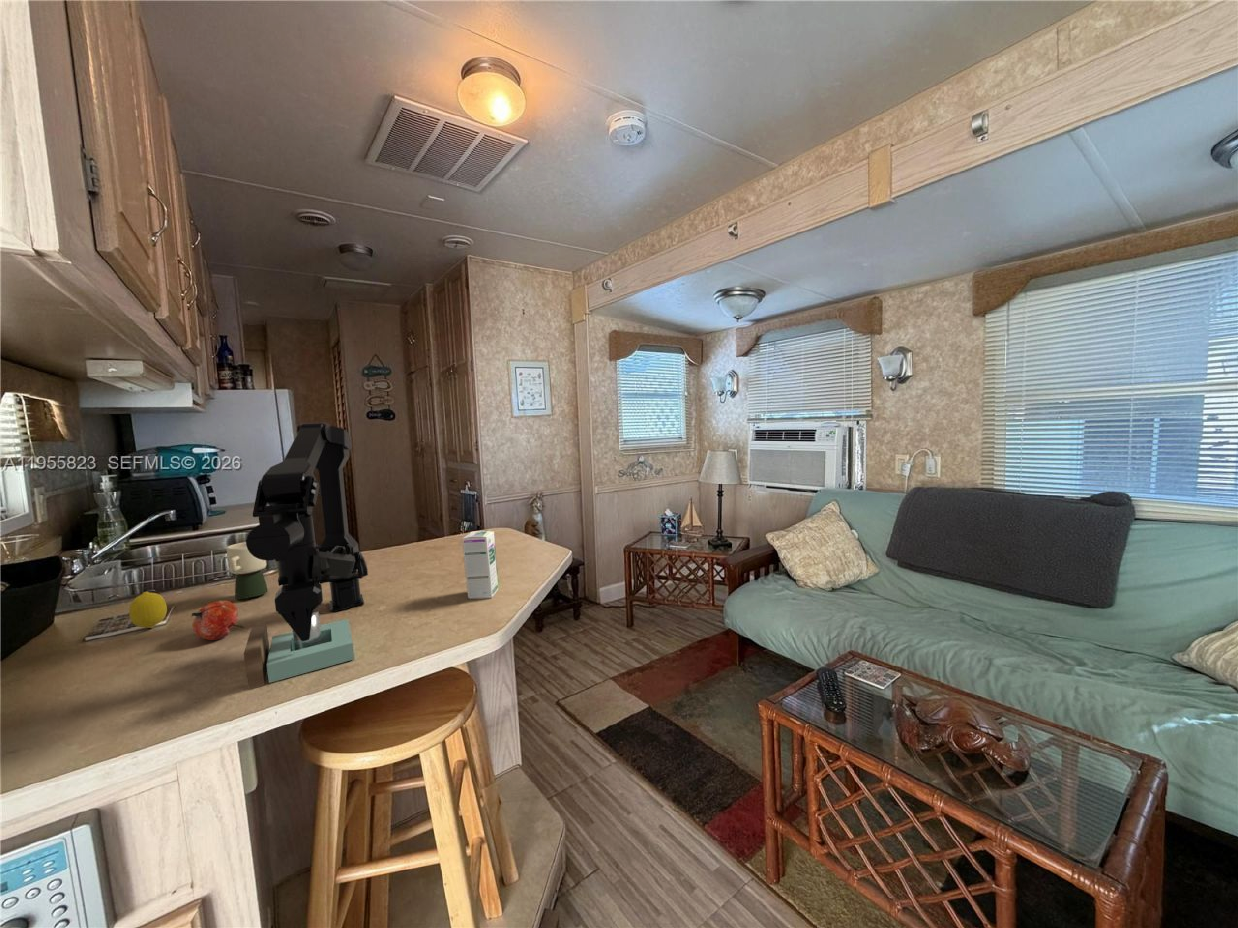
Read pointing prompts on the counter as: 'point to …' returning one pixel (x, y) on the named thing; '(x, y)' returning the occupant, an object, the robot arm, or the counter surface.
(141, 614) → the lemon
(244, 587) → the character mug
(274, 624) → the counter surface
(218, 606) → the red rounded lumpy piece
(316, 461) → the robot arm
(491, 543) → the syrup box
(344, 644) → the socket block
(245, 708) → the counter surface
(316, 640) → the dowel
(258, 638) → the backstop wall
